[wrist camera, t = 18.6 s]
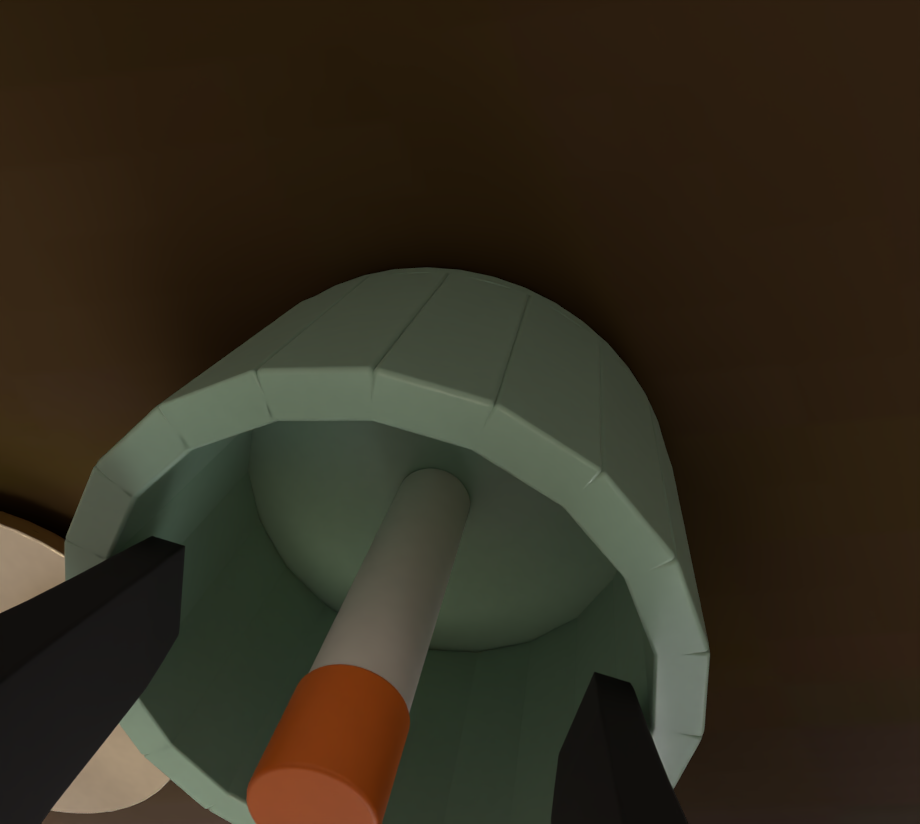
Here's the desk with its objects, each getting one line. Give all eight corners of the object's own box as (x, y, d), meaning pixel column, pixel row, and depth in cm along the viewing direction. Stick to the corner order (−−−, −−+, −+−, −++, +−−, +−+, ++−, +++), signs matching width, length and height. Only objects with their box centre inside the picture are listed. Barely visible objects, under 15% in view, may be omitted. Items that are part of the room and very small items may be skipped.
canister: (746, 345, 14) (838, 500, 9) (586, 706, 19) (583, 952, 14) (250, 208, 15) (55, 276, 9) (214, 591, 19) (69, 783, 14)
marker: (482, 477, 16) (390, 792, 9) (463, 541, 17) (366, 879, 10) (404, 454, 16) (250, 747, 9) (389, 519, 17) (238, 836, 10)
